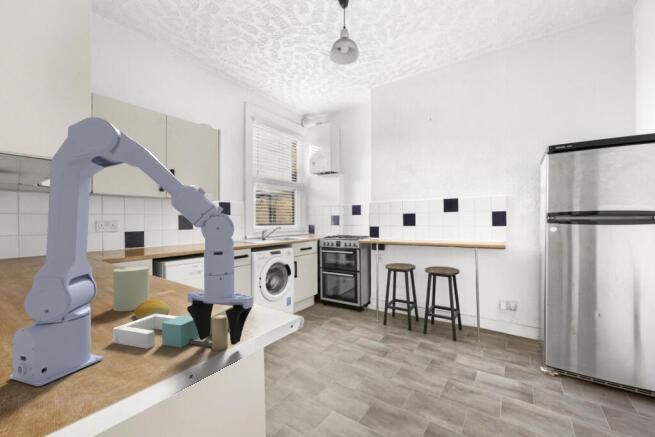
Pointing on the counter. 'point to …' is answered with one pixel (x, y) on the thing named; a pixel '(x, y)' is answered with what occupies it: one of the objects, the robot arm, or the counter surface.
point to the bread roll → (151, 308)
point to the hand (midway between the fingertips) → (219, 340)
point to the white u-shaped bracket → (140, 331)
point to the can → (130, 287)
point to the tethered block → (194, 332)
